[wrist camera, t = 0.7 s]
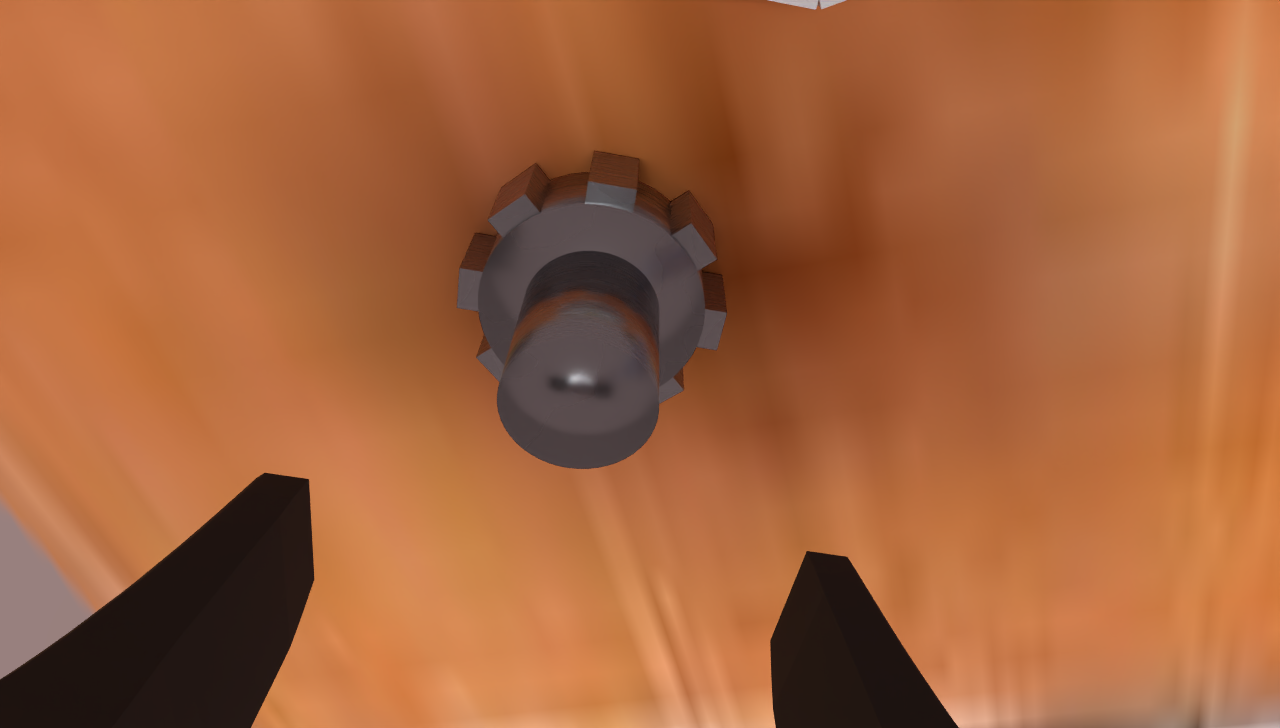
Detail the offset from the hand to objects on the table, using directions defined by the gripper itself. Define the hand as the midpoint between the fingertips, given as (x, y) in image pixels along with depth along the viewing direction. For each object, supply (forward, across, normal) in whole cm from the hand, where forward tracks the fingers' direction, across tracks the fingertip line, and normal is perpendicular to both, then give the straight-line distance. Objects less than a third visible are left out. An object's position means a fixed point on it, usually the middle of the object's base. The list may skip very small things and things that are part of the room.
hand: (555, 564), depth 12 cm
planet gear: (+9, 0, 0) cm, 9 cm away
